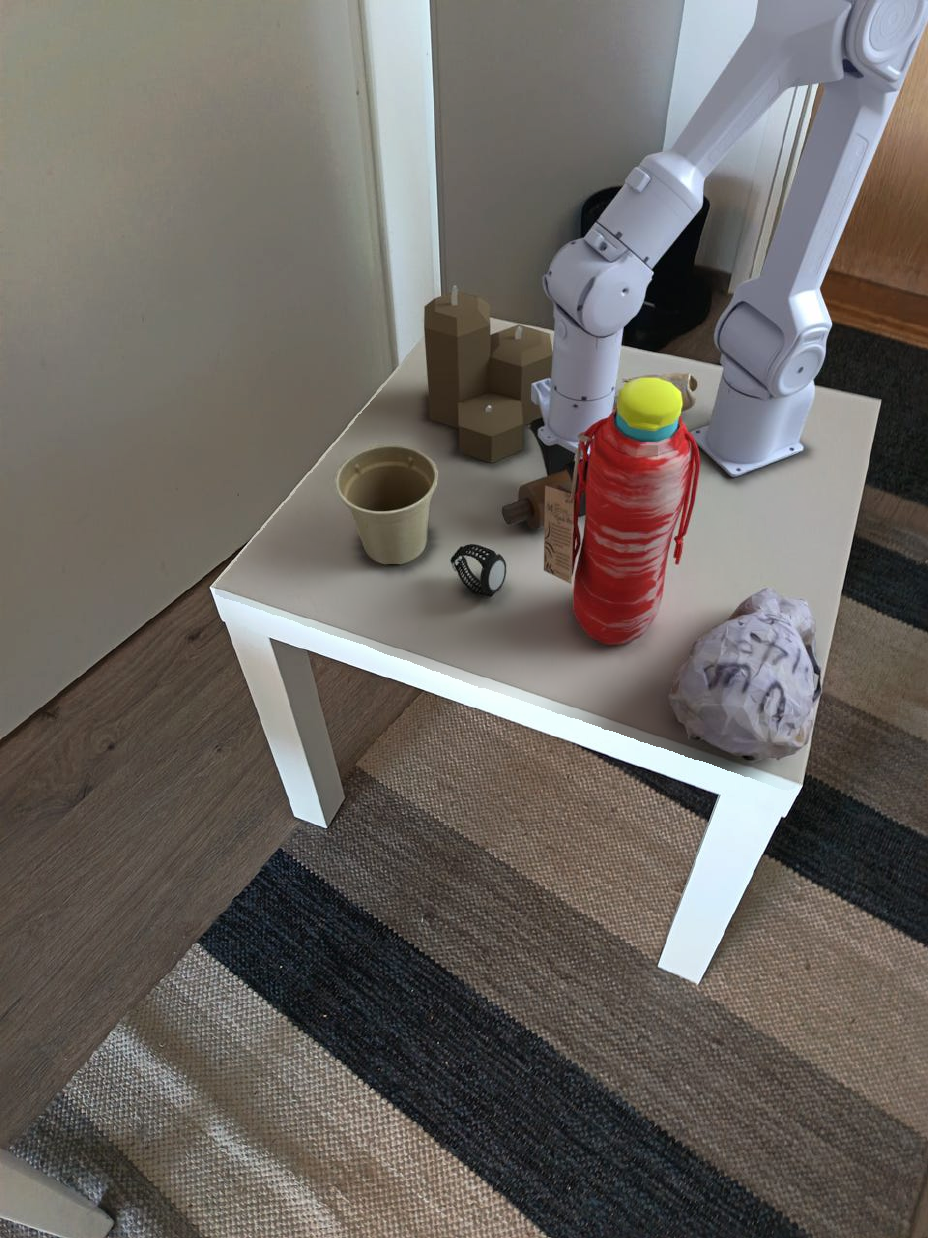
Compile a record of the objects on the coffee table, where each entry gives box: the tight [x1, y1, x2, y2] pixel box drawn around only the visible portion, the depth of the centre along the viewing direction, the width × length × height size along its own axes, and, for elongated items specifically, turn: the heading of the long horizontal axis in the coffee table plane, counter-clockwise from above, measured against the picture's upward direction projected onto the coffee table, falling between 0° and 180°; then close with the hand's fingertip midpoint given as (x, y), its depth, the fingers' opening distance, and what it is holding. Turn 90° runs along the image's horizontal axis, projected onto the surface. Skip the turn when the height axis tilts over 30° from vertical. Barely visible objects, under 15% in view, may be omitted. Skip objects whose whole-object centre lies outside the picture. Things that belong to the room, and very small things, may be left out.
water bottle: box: [543, 378, 701, 645], centre depth 69 cm, size 12×8×25 cm, turn 71°
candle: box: [423, 284, 553, 464], centre depth 92 cm, size 14×14×15 cm
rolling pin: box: [500, 469, 572, 530], centre depth 86 cm, size 15×5×5 cm, turn 117°
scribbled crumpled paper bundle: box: [668, 587, 823, 764], centre depth 69 cm, size 19×12×10 cm, turn 137°
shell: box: [621, 372, 698, 413], centre depth 96 cm, size 8×4×5 cm, turn 84°
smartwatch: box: [449, 543, 507, 598], centre depth 79 cm, size 4×5×5 cm
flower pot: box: [334, 443, 439, 565], centre depth 82 cm, size 9×9×9 cm
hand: (572, 495), depth 86 cm, fingers closed on rolling pin, 4 cm apart
